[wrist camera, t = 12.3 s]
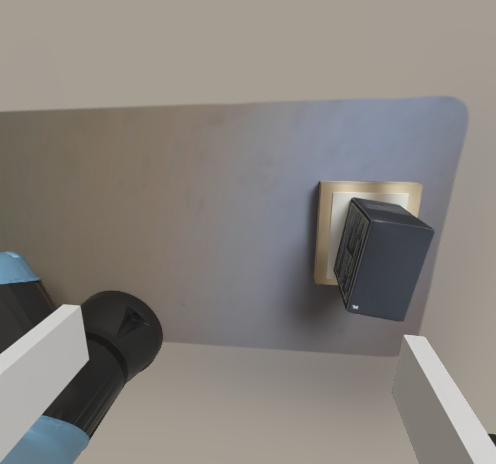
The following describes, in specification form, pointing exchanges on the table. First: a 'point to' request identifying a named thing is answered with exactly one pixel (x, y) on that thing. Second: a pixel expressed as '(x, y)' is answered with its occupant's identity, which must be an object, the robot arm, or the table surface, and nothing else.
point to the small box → (380, 258)
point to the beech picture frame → (336, 209)
